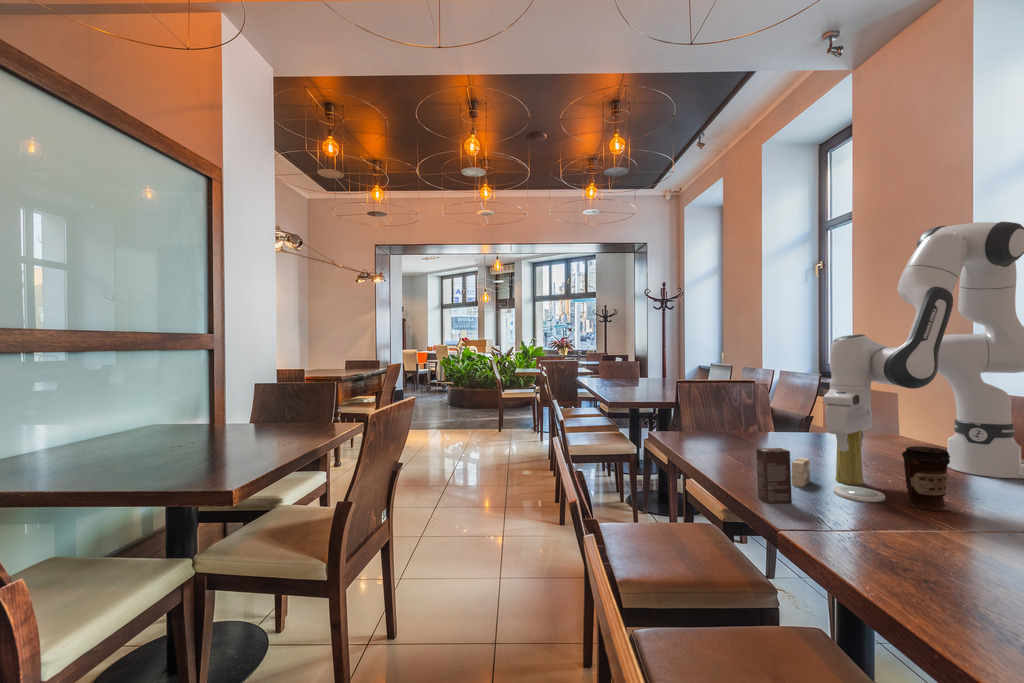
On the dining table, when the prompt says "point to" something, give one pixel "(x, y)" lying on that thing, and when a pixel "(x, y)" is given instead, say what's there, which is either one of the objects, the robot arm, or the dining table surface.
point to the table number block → (800, 471)
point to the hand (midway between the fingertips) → (851, 448)
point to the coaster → (859, 494)
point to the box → (774, 475)
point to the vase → (850, 461)
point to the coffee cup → (926, 476)
